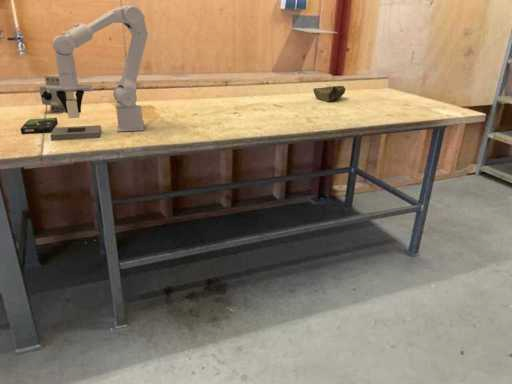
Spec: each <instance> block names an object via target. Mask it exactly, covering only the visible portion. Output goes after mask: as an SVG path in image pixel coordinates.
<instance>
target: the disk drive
mask: <svg viewBox="0 0 512 384" xmlns="http://www.w3.org/2000/svg"><path fill="white" fill-rule="evenodd" d="M58 124H59V122H58V117H45V118H44V117H43V118H30V119H28V120H27V121H25V123H24V124H23V125H22V126H21V127H20V133H21V135H37V134H51V133H52V131H53V129H54V128H56V127H57V125H58Z"/></svg>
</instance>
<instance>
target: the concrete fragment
mask: <svg viewBox="0 0 512 384" xmlns="http://www.w3.org/2000/svg"><path fill="white" fill-rule="evenodd" d="M345 93H346V87H345V86H344V85H335V86H334V85H333V86H325V87H324V86H323V87H318V88H317V87H314V88H313V94H314V96H315V97H316V99H318V100H319V101H323V102H326V103H333V102H337V101H339V100H340V99H341V98H342V96H343V95H344V94H345Z"/></svg>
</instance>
